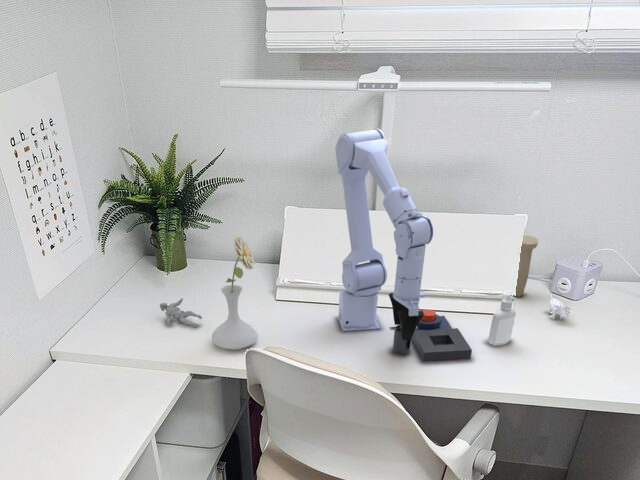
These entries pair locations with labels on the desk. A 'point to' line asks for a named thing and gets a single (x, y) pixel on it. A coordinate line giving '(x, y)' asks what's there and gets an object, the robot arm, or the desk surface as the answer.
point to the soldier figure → (178, 313)
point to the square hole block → (452, 351)
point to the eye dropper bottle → (502, 323)
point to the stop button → (428, 315)
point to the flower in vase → (236, 307)
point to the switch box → (434, 324)
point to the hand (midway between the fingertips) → (402, 331)
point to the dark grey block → (400, 342)
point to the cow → (558, 308)
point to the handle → (525, 262)
